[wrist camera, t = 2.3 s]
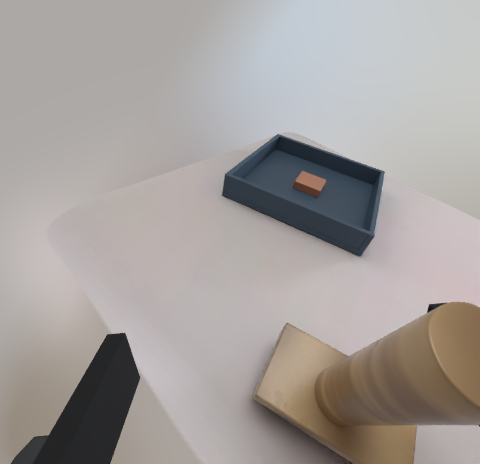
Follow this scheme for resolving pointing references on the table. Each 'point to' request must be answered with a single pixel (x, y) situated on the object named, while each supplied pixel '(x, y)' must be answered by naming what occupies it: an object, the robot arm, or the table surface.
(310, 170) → the tray
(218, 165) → the table surface
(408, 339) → the wooden stamp
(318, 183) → the block
